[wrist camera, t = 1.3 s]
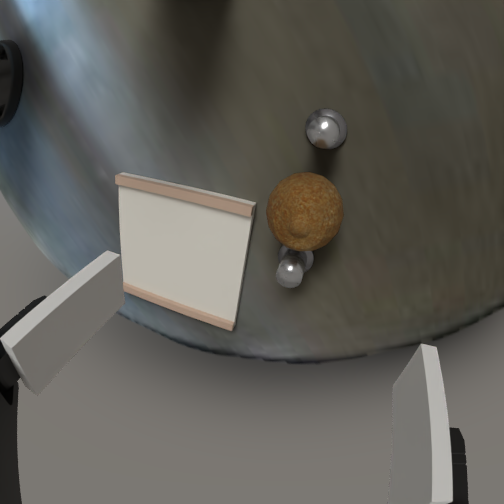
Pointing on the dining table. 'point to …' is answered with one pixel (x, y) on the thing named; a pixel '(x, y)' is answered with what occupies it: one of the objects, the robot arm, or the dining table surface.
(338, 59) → the dining table surface
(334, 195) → the fruit
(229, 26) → the dining table surface
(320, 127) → the pins
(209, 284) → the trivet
